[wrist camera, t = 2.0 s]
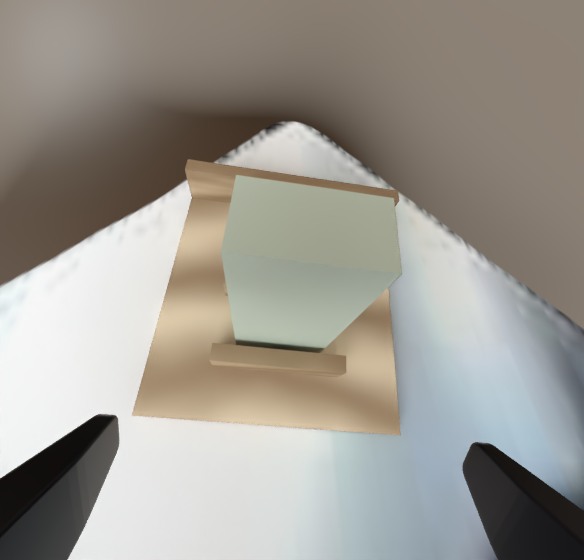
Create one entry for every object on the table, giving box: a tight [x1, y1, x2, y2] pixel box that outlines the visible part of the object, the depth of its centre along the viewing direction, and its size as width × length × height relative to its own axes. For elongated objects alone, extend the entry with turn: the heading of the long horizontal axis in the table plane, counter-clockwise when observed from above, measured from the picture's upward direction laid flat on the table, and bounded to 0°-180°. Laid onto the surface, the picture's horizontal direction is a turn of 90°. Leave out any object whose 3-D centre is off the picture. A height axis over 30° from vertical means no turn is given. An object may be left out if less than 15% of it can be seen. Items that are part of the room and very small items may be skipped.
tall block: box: [221, 175, 402, 353], centre depth 15 cm, size 3×6×12 cm, turn 86°
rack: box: [132, 159, 400, 435], centre depth 21 cm, size 17×16×4 cm
